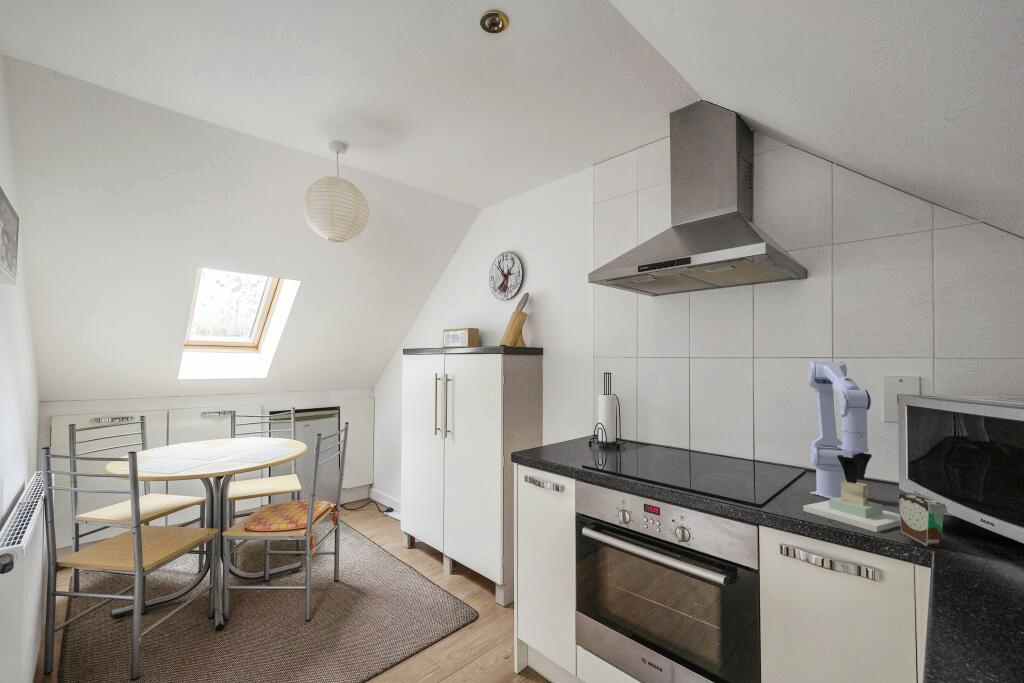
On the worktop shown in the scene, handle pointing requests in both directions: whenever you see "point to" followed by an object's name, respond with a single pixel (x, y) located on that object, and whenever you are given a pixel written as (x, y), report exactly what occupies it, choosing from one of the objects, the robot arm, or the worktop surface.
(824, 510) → the base board
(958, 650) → the worktop surface
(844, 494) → the maple cube
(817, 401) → the robot arm
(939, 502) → the food container
